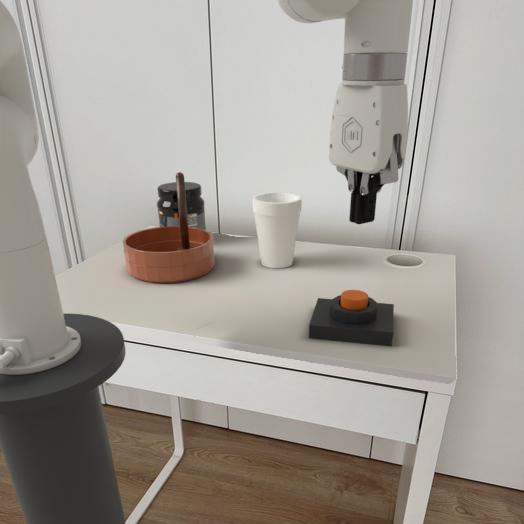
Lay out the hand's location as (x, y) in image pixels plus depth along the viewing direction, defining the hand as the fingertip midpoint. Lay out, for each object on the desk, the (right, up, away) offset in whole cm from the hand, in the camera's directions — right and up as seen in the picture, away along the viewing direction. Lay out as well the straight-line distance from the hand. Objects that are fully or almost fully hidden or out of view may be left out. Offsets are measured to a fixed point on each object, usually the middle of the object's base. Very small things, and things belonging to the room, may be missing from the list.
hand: (361, 221), depth 72 cm
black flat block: (0, -14, +8) cm, 16 cm away
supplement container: (-32, +7, +48) cm, 58 cm away
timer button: (0, -11, +6) cm, 13 cm away
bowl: (-32, -1, +31) cm, 45 cm away
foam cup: (-11, 0, +33) cm, 35 cm away
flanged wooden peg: (-29, +2, +34) cm, 45 cm away
